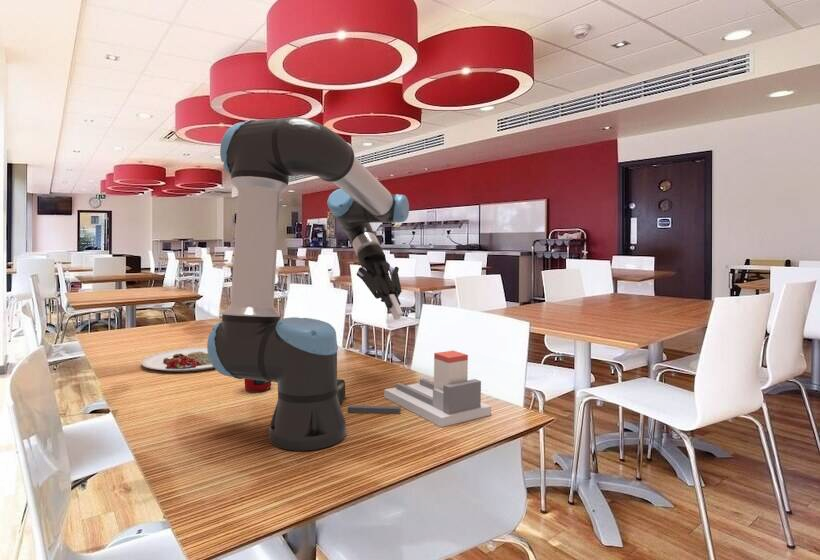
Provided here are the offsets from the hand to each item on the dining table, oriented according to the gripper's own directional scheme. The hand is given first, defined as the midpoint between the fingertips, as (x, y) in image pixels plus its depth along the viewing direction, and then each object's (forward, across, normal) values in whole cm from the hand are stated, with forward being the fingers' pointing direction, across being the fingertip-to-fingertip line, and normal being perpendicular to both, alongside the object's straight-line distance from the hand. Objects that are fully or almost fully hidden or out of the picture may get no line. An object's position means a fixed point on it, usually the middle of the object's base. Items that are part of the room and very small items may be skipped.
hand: (398, 316), depth 133 cm
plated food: (-28, +41, -56) cm, 74 cm away
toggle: (+28, 0, +4) cm, 28 cm away
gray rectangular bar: (+23, +14, -5) cm, 28 cm away
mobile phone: (+17, +20, -11) cm, 29 cm away
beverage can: (+1, +32, -27) cm, 42 cm away
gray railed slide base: (+26, 0, -2) cm, 26 cm away
